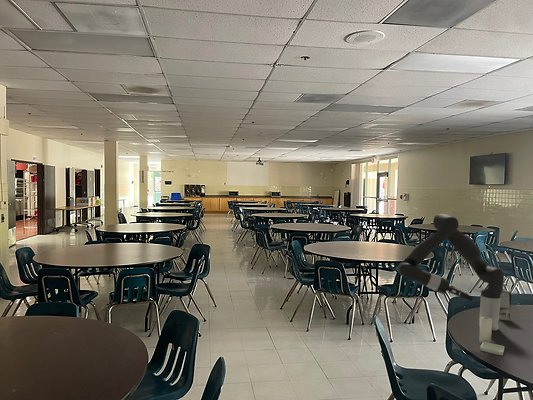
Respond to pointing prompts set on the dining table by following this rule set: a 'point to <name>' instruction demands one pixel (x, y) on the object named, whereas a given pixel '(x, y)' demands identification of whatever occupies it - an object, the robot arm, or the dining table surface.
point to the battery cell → (485, 329)
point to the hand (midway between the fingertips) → (469, 297)
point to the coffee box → (505, 305)
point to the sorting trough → (492, 348)
